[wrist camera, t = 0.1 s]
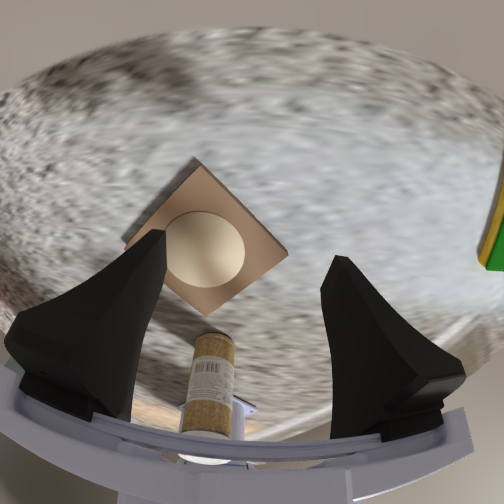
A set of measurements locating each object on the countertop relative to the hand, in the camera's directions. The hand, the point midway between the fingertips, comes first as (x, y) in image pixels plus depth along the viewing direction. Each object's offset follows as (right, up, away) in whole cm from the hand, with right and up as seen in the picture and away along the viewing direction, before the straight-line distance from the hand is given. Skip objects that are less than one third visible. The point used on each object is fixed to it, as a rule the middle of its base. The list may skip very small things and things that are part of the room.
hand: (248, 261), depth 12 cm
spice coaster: (-4, +1, +12) cm, 12 cm away
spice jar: (-4, -10, +18) cm, 20 cm away
